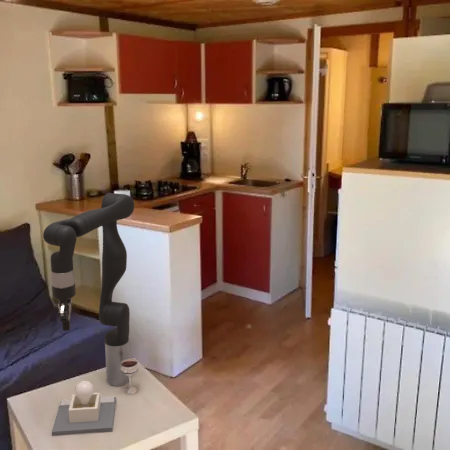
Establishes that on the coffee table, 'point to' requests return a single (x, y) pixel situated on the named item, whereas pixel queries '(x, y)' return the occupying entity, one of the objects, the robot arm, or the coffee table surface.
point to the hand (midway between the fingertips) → (66, 329)
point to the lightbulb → (84, 392)
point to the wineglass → (129, 372)
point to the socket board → (85, 416)
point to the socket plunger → (89, 405)
